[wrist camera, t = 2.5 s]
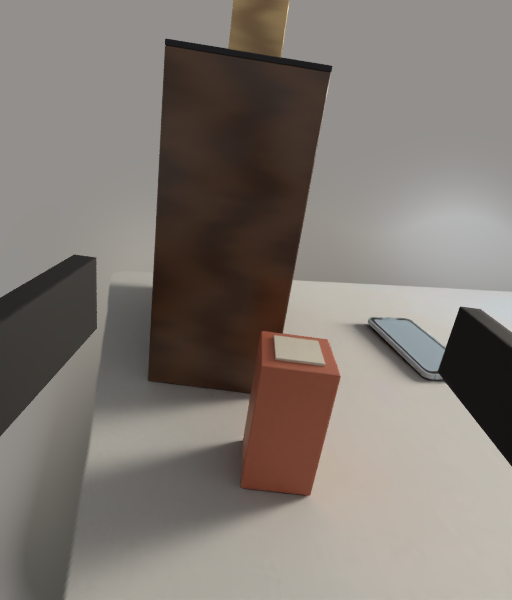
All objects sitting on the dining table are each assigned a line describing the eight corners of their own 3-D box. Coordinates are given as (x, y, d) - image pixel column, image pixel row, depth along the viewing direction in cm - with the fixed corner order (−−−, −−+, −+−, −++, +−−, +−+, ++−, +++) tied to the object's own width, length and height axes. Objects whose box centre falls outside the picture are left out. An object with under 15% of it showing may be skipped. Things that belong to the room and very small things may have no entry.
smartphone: (427, 375, 46) (366, 316, 59) (424, 381, 46) (364, 322, 59) (479, 374, 48) (409, 318, 61) (476, 381, 48) (407, 323, 61)
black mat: (164, 44, 28) (165, 36, 28) (208, 90, 52) (208, 86, 52) (331, 72, 29) (332, 64, 29) (298, 104, 53) (299, 100, 53)
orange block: (240, 488, 28) (261, 363, 24) (243, 439, 33) (261, 327, 29) (310, 496, 28) (342, 373, 25) (303, 446, 33) (328, 336, 29)
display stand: (147, 380, 38) (164, 44, 28) (190, 289, 63) (208, 90, 52) (271, 396, 39) (331, 72, 29) (266, 299, 63) (298, 104, 53)
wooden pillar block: (226, 71, 38) (239, -63, 34) (229, 79, 43) (241, -38, 39) (278, 79, 38) (297, -53, 35) (275, 86, 43) (292, -29, 39)
